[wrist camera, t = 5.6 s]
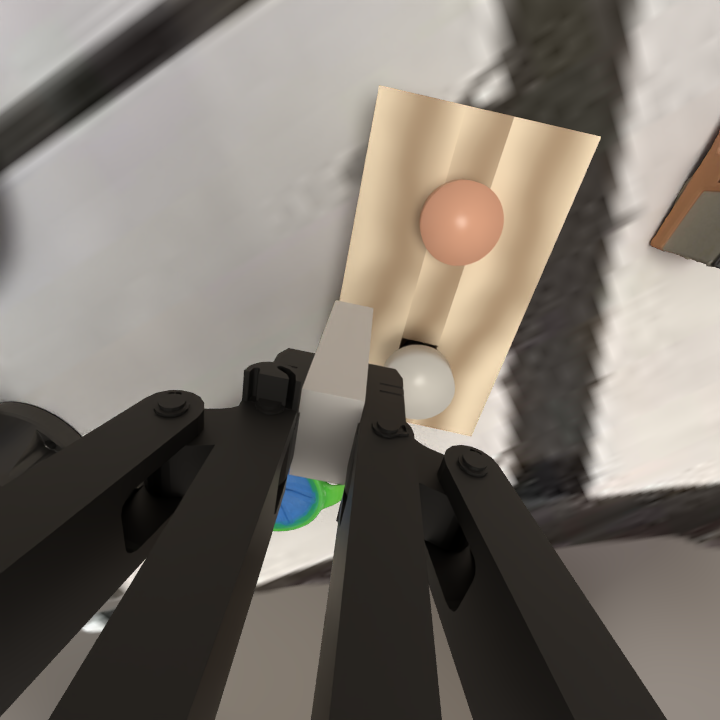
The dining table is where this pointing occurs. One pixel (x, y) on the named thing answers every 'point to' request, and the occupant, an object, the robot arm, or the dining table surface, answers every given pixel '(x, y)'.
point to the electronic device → (696, 215)
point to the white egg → (423, 379)
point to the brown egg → (461, 222)
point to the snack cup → (305, 501)
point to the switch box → (447, 282)
